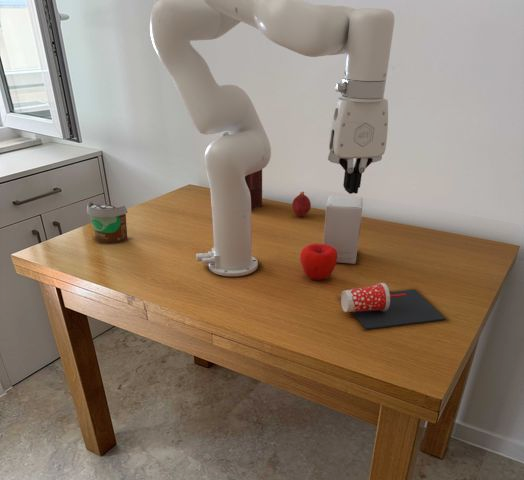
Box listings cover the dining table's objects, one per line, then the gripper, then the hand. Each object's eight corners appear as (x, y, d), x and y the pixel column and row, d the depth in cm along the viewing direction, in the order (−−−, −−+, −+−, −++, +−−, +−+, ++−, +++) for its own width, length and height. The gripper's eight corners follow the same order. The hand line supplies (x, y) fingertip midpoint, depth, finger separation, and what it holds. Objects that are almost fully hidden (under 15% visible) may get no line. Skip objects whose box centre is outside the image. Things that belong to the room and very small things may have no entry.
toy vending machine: (249, 213, 167) (248, 120, 151) (225, 206, 173) (221, 116, 157) (267, 207, 172) (268, 116, 157) (243, 200, 178) (241, 112, 163)
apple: (309, 288, 122) (311, 257, 117) (293, 273, 128) (294, 244, 124) (342, 281, 125) (345, 251, 120) (324, 267, 131) (326, 238, 127)
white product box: (356, 264, 133) (362, 207, 125) (321, 262, 134) (325, 205, 126) (357, 251, 140) (363, 196, 132) (325, 248, 142) (328, 194, 134)
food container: (82, 241, 146) (75, 206, 141) (96, 234, 151) (90, 200, 146) (119, 247, 143) (113, 212, 137) (131, 239, 147) (126, 205, 142)
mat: (365, 329, 106) (366, 328, 105) (342, 299, 117) (342, 297, 117) (444, 320, 109) (445, 318, 109) (414, 290, 120) (414, 289, 120)
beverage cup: (337, 295, 113) (396, 289, 115) (344, 320, 111) (404, 313, 113) (344, 281, 107) (406, 275, 110) (352, 307, 105) (415, 300, 108)
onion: (310, 220, 161) (312, 194, 157) (292, 219, 162) (293, 194, 157) (309, 213, 166) (310, 189, 162) (291, 213, 166) (292, 189, 162)
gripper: (330, 93, 88) (321, 199, 99) (410, 93, 91) (393, 195, 102) (317, 87, 94) (309, 187, 105) (392, 87, 97) (378, 184, 108)
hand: (351, 191), depth 103 cm, fingers closed
